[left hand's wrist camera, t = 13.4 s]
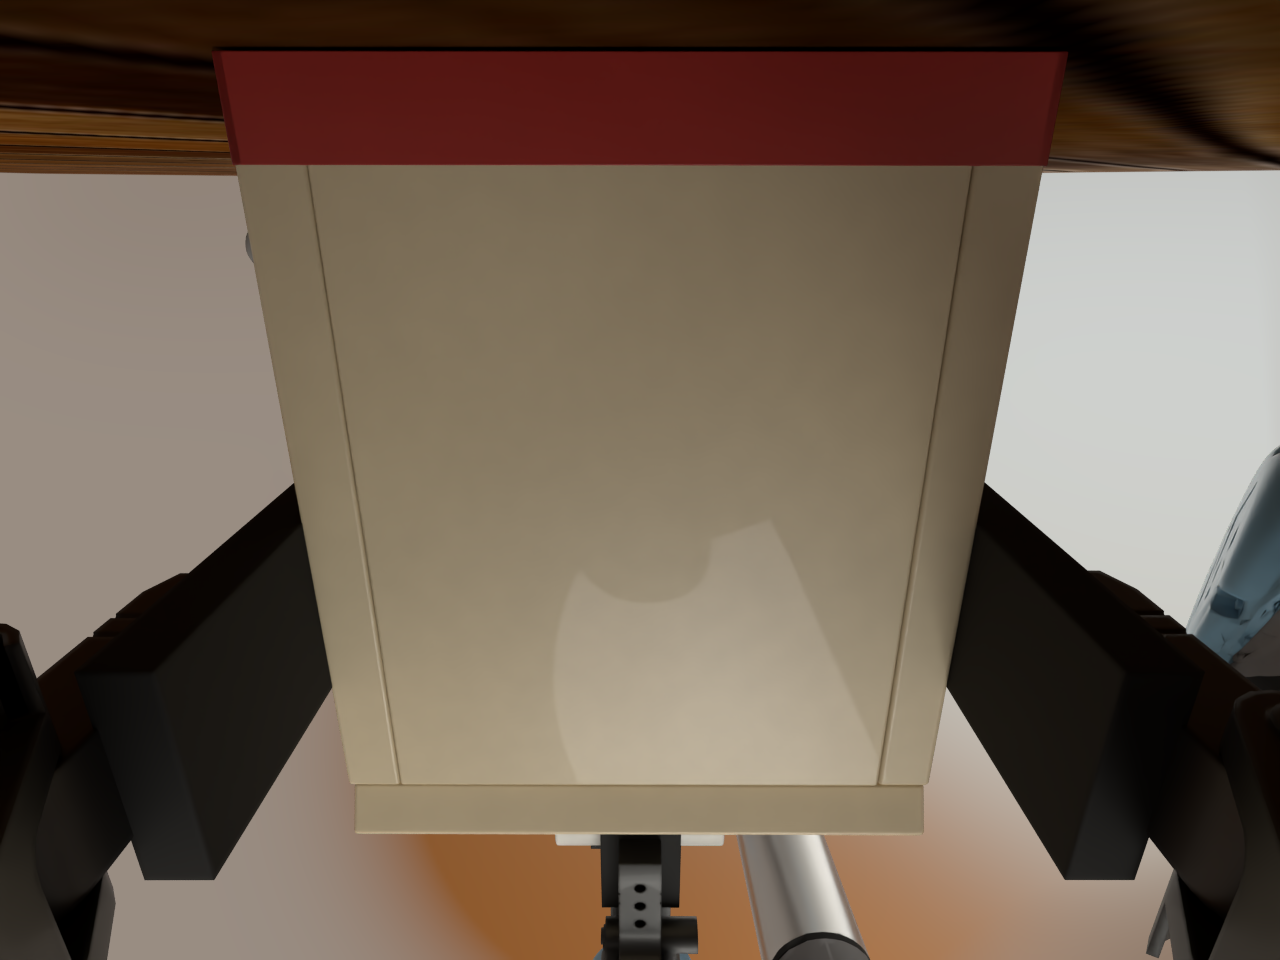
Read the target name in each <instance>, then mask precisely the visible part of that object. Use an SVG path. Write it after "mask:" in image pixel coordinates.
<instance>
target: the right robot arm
mask: <svg viewBox="0 0 1280 960" xmlns="http://www.w3.org/2000/svg"><path fill="white" fill-rule="evenodd" d="M736 836H737V841H738V845H739V851H740V855H741V860H742V865H743V870H744V875H745V880H746V885H747V890H748V895H749V900H750V905H751V910H752V914H753V920H754V925H755V930H756V934H757V939H758V944H759V949H760V954H761V959H762V960H870V958H869V956H868V953H867V950H866V948H865V945H864V942H863V939H862V937H861V934H860V931H859V929H858V926H857V923H856V921H855V918H854V915H853V913H852V910H851V907H850V905H849V902H848V899H847V896H846V894H845V891H844V888H843V886H842V883H841V880H840V878H839V875H838V872H837V870H836V867H835V864H834V862H833V859H832V856H831V854H830V851H829V848H828V846H827V843H826V840H825V837H824V835H736ZM600 844H601V845H591V849H601V886H602V907H611V916H606V923H605V924H604V927H602V928H601V944H603V948H602V949H601V950H600V951H599V952H598V953H597V955H596V956H595V957H594V959H593V960H691V959H690V957H689V955H688V954H698V930H697V918H696V916H670V908H678V907H679V893H680V859H681V835H673V834H600Z"/></svg>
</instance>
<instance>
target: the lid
mask: <svg viewBox="0 0 1280 960" xmlns="http://www.w3.org/2000/svg"><path fill="white" fill-rule="evenodd" d="M923 801H924V798H923V785H882V784H880V783H879V782H877V785H486V784H402V783H401V781H400V783H399V784H355V832H356V833H358V834H555V839H556V844H557V845H601V844H600V834H673V835H681V846H721V845H723V843H724V835H922V834H923V832H924V803H923Z"/></svg>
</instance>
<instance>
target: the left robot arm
mask: <svg viewBox="0 0 1280 960" xmlns="http://www.w3.org/2000/svg"><path fill="white" fill-rule="evenodd" d="M946 687H947V688H948V690H949V691H950V693H951V695H952V696H953V698H954V700H955V701H956V703H957V704H958V706H959V708H960V709H961V711H962V713H963V714H964V716H965V717H966V719H967V721H968V722H969V724H970V726H971V727H972V729H973V731H974V732H975V734H976V735H977V737H978V739H979V740H980V742H981V744H982V745H983V747H984V749H985V750H986V752H987V753H988V755H989V757H990V758H991V760H992V762H993V763H994V765H995V766H996V768H997V770H998V771H999V773H1000V775H1001V776H1002V778H1003V780H1004V781H1005V783H1006V784H1007V786H1008V788H1009V789H1010V791H1011V793H1012V794H1013V796H1014V797H1015V799H1016V801H1017V802H1018V804H1019V806H1020V807H1021V809H1022V811H1023V812H1024V814H1025V815H1026V817H1027V819H1028V820H1029V822H1030V824H1031V825H1032V827H1033V828H1034V830H1035V832H1036V833H1037V835H1038V837H1039V838H1040V840H1041V842H1042V843H1043V845H1044V846H1045V848H1046V850H1047V851H1048V853H1049V855H1050V856H1051V858H1052V860H1053V861H1054V863H1055V864H1056V866H1057V868H1058V869H1059V871H1060V873H1061V874H1062V876H1063V878H1064V879H1065V880H1134V879H1135V877H1136V874H1137V871H1138V868H1139V865H1140V862H1141V859H1142V856H1143V853H1144V850H1145V847H1146V844H1147V841H1148V838H1150V839H1151V840H1152V841H1153V843H1154V844H1155V845H1156V847H1157V848H1158V849H1159V850H1160V852H1161V853H1162V854H1163V856H1164V857H1165V858H1166V859H1167V861H1168V862H1169V863H1170V864H1171V866H1172V867H1173V868H1174V870H1173V873H1172V876H1171V878H1170V881H1169V884H1168V886H1167V889H1166V892H1165V895H1164V897H1163V900H1162V903H1161V906H1160V908H1159V911H1158V914H1157V916H1156V919H1155V922H1154V925H1153V928H1152V930H1151V933H1150V936H1149V940H1148V945H1147V951H1146V954H1149V955H1151V956H1154V957H1157V958H1159V955H1160V953H1161V950H1162V947H1163V945H1164V942H1165V941H1166V940H1168V939H1170V940H1171V947H1172V953H1173V960H1280V446H1278V447H1277V448H1276V449H1274V450H1273V451H1272V452H1271V453H1270V454H1269V455H1268V456H1267V457H1266V458H1265V460H1264V461H1263V463H1262V464H1261V466H1260V467H1259V469H1258V470H1257V472H1256V474H1255V476H1254V477H1253V479H1252V481H1251V483H1250V485H1249V487H1248V489H1247V490H1246V492H1245V494H1244V496H1243V498H1242V500H1241V502H1240V504H1239V506H1238V508H1237V510H1236V512H1235V514H1234V517H1233V519H1232V521H1231V523H1230V525H1229V527H1228V529H1227V531H1226V534H1225V536H1224V538H1223V540H1222V542H1221V545H1220V547H1219V549H1218V551H1217V554H1216V556H1215V558H1214V560H1213V563H1212V565H1211V567H1210V570H1209V572H1208V574H1207V576H1206V579H1205V581H1204V584H1203V586H1202V588H1201V591H1200V593H1199V596H1198V598H1197V600H1196V603H1195V605H1194V608H1193V611H1192V613H1191V616H1190V618H1189V621H1188V624H1187V627H1186V628H1184V627H1183V626H1182V625H1181V624H1179V623H1178V622H1177V621H1176V620H1174V619H1173V618H1172V617H1171V616H1169V615H1164V611H1163V610H1162V609H1161V608H1159V607H1158V606H1157V605H1156V604H1155V603H1153V602H1152V601H1151V600H1150V599H1148V598H1147V597H1146V596H1145V595H1144V594H1142V593H1141V592H1140V591H1139V590H1137V589H1135V588H1134V587H1132V586H1130V585H1127V584H1126V583H1123V582H1121V581H1119V580H1117V579H1115V578H1113V577H1111V576H1109V575H1107V574H1105V573H1103V572H1101V571H1087V570H1086V569H1085V568H1084V567H1082V566H1081V565H1080V564H1079V563H1078V562H1077V561H1076V560H1074V559H1073V558H1072V557H1071V556H1070V555H1069V554H1067V553H1066V552H1065V551H1064V550H1063V549H1062V548H1060V547H1059V546H1058V545H1057V544H1056V543H1055V542H1053V541H1052V540H1051V539H1050V538H1049V537H1048V536H1046V535H1045V534H1044V533H1043V532H1042V531H1041V530H1039V529H1038V528H1037V527H1036V526H1035V525H1033V524H1032V523H1031V522H1030V521H1029V520H1028V519H1027V518H1025V517H1024V516H1023V515H1022V514H1021V513H1020V512H1018V511H1017V510H1016V509H1015V508H1014V507H1013V506H1011V505H1010V504H1009V503H1008V502H1007V501H1006V500H1005V499H1003V498H1002V497H1001V496H1000V495H999V494H997V493H996V492H995V491H994V490H993V489H992V488H990V487H989V486H988V485H987V484H986V483H985V482H984V487H983V492H982V497H981V503H980V508H979V514H978V519H977V524H976V530H975V535H974V540H973V546H972V551H971V557H970V562H969V567H968V573H967V578H966V583H965V589H964V594H963V600H962V605H961V610H960V616H959V621H958V626H957V632H956V637H955V643H954V648H953V653H952V659H951V664H950V669H949V675H948V680H947V686H946ZM331 689H332V682H331V676H330V671H329V666H328V660H327V655H326V649H325V644H324V639H323V633H322V628H321V622H320V617H319V612H318V606H317V601H316V595H315V590H314V585H313V579H312V574H311V568H310V563H309V558H308V552H307V547H306V541H305V536H304V531H303V525H302V522H301V517H300V511H299V506H298V500H297V495H296V490H295V484H294V483H293V484H292V485H291V486H290V487H289V488H288V489H286V490H285V491H284V492H283V493H282V494H281V495H279V496H278V497H277V498H276V499H275V500H274V501H272V502H271V503H270V504H269V505H268V506H267V507H265V508H264V509H263V510H262V511H261V512H260V513H258V514H257V515H256V516H255V517H254V518H253V519H251V520H250V521H249V522H248V523H247V524H246V525H244V526H243V527H242V528H241V529H240V530H239V531H237V532H236V533H235V534H234V535H233V536H232V537H230V538H229V539H228V540H227V541H226V542H225V543H223V544H222V545H221V546H220V547H219V548H218V549H216V550H215V551H214V552H213V553H212V554H211V555H210V556H208V557H207V558H206V559H205V560H204V561H202V562H201V563H200V564H199V565H198V566H197V567H195V568H194V569H193V570H192V571H191V572H190V573H180V574H178V575H176V576H174V577H172V578H170V579H168V580H166V581H164V582H162V583H160V584H158V585H156V586H154V587H152V588H150V589H148V590H146V591H144V592H142V593H141V594H140V595H138V596H137V597H136V598H135V599H134V600H132V601H131V602H130V603H129V604H127V605H126V606H125V607H124V608H123V609H121V610H120V611H119V612H118V613H116V618H110V619H109V620H108V621H107V622H105V623H104V624H103V625H102V626H100V627H99V628H98V629H97V630H96V631H94V635H93V637H87V638H86V639H85V640H83V641H82V642H81V643H80V644H78V645H77V646H76V647H75V648H74V649H72V650H71V651H70V652H69V653H67V654H66V655H65V656H64V657H63V658H61V659H60V660H59V661H58V662H56V663H55V664H54V665H53V666H52V667H50V668H49V669H48V670H47V671H45V672H44V673H43V674H42V675H40V676H39V677H38V678H36V675H35V673H34V670H33V667H32V665H31V662H30V659H29V656H28V653H27V651H26V648H25V645H24V642H23V640H22V637H21V634H20V632H19V630H17V629H15V628H13V627H11V626H9V625H7V624H0V960H107V956H108V949H109V943H110V936H111V929H112V923H113V917H114V910H115V897H114V891H113V886H112V884H111V881H110V878H109V875H108V873H107V870H108V869H109V868H110V866H111V865H112V864H113V863H114V861H115V860H116V859H117V857H118V856H119V855H120V854H121V852H122V851H123V850H124V848H125V847H126V846H127V845H128V843H129V842H130V841H132V844H133V847H134V850H135V853H136V856H137V859H138V862H139V865H140V868H141V871H142V873H143V876H144V879H145V880H214V879H215V878H216V876H217V875H218V873H219V871H220V870H221V868H222V866H223V865H224V863H225V861H226V860H227V858H228V856H229V855H230V853H231V852H232V850H233V848H234V847H235V845H236V843H237V842H238V840H239V839H240V837H241V835H242V834H243V832H244V831H245V829H246V827H247V826H248V824H249V822H250V821H251V819H252V817H253V816H254V814H255V813H256V811H257V809H258V808H259V806H260V804H261V803H262V801H263V800H264V798H265V796H266V795H267V793H268V791H269V790H270V788H271V786H272V785H273V783H274V782H275V780H276V778H277V777H278V775H279V773H280V772H281V770H282V768H283V767H284V765H285V764H286V762H287V760H288V759H289V757H290V755H291V754H292V752H293V751H294V749H295V747H296V746H297V744H298V742H299V741H300V739H301V737H302V736H303V734H304V733H305V731H306V729H307V728H308V726H309V724H310V723H311V721H312V720H313V718H314V716H315V715H316V713H317V711H318V710H319V708H320V706H321V705H322V703H323V702H324V700H325V698H326V697H327V695H328V693H329V692H330V690H331Z"/></svg>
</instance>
